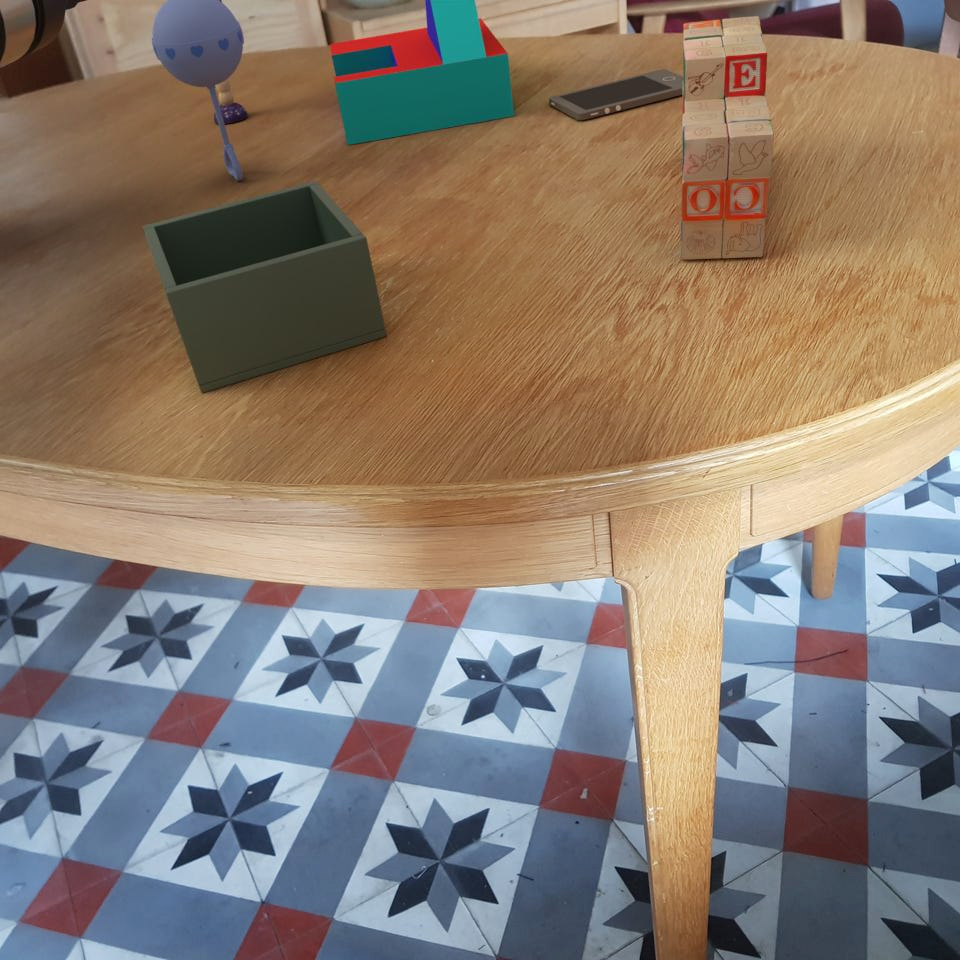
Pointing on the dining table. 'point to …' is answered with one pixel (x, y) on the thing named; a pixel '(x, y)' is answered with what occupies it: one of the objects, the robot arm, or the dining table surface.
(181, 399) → the dining table surface
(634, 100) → the smartphone
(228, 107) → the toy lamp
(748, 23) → the stack of blocks
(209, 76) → the baby rattle
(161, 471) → the dining table surface
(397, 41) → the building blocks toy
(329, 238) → the toy bin
